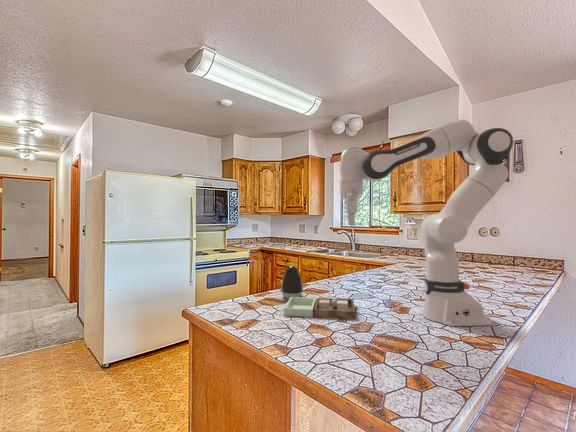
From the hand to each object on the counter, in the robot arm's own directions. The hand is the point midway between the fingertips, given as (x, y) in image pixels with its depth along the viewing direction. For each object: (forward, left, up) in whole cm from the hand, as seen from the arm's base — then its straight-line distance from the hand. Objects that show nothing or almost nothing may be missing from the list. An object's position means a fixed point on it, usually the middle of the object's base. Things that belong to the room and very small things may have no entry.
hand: (351, 225), depth 118 cm
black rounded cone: (+27, -18, -35) cm, 47 cm away
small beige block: (+4, +1, -34) cm, 34 cm away
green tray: (+20, 0, -35) cm, 40 cm away
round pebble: (+7, -4, -34) cm, 35 cm away
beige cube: (+11, +1, -34) cm, 36 cm away
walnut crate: (+7, 0, -35) cm, 35 cm away
